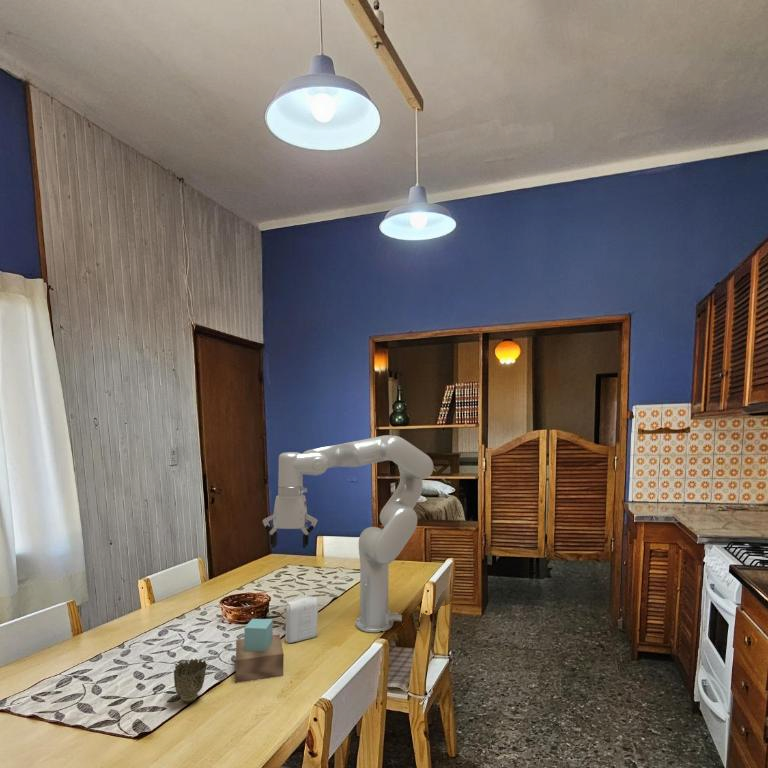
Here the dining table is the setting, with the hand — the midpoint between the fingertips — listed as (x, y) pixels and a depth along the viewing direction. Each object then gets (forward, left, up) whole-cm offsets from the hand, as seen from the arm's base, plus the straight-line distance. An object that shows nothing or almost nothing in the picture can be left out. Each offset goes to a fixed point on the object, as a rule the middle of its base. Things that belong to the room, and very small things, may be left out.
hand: (289, 546), depth 149 cm
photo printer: (-4, -1, -28) cm, 29 cm away
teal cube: (+4, +17, -23) cm, 28 cm away
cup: (+16, +33, -28) cm, 46 cm away
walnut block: (+4, +17, -29) cm, 33 cm away
